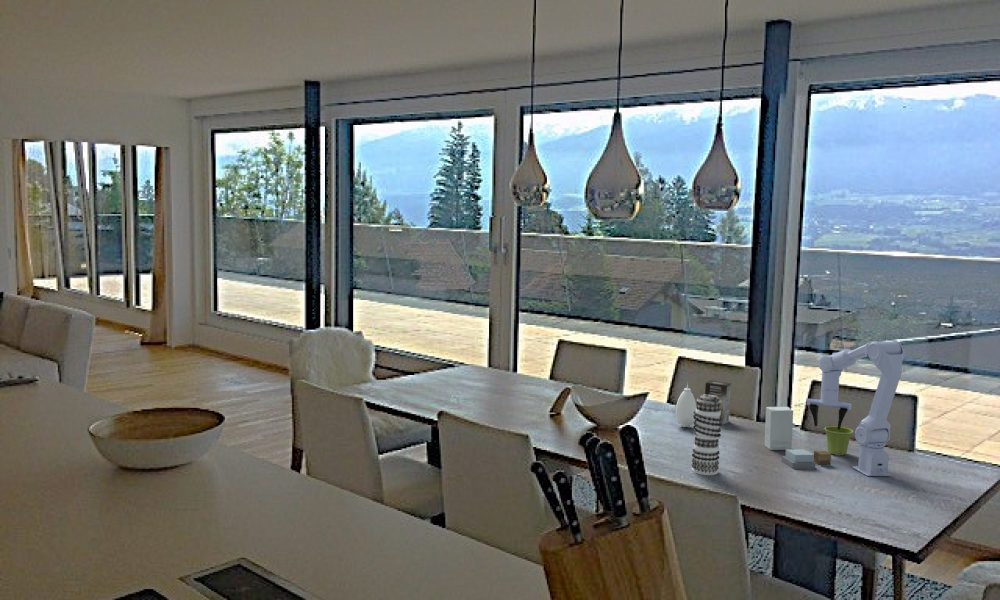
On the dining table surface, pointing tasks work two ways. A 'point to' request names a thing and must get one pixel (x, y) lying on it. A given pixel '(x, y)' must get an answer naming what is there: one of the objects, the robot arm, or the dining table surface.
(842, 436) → the plant pot
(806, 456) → the top slab
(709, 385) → the coffee box
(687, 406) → the sauce bottle
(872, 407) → the robot arm
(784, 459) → the base slab
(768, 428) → the skincare box
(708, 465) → the decorative candle
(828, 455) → the walnut cube
